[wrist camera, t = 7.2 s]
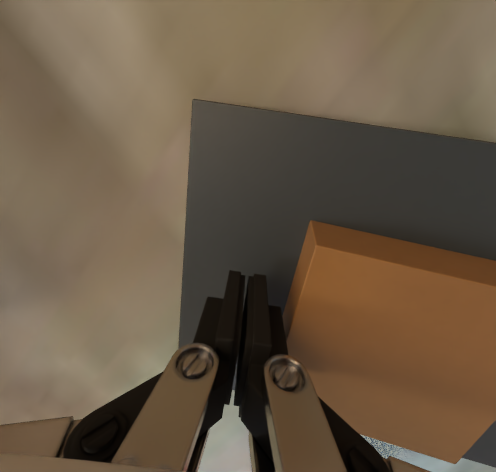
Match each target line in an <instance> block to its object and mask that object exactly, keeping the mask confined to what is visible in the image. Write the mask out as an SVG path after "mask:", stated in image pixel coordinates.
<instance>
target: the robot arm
mask: <svg viewBox="0 0 496 472" xmlns="http://www.w3.org/2000/svg"><path fill="white" fill-rule="evenodd" d="M244 289H245V275H241V272H240V271H233V270H229V275H228V280H227V285H226V290H225V294H224V299H223V298H216V297H207V299H206V302H205V306H204V309H203V312H202V315H201V318H200V321H199V325H198V328H197V331H196V334H195V337H194V340H193V343H190V344H187V345H185V346H183V347H181V348H180V349H178V350H177V351H176V352H175V354H174V355H173V356H172V358H171V360H170V361H169V363H168V365H167V367H166V368H165V370H164V372H162V373H160V374H158V375H157V376H155V377H153V378H151V379H149V380H148V381H146V382H144V383H142V384H141V385H139V386H137V387H135V388H134V389H132V390H130V391H128V392H127V393H125V394H123V395H121V396H120V397H118V398H116V399H114V400H113V401H111V402H109V403H107V404H106V405H104V406H102V407H100V408H99V409H97V410H95V411H93V412H92V413H90V414H89V415H88V416H86V417H85V418H83V419H80V420H74V419H73V416H71V417H62V418H54V419H46V420H38V421H29V422H21V423H13V424H5V425H0V472H198V469H199V465H200V462H201V458H202V455H203V452H204V448H205V445H206V442H207V438H208V435H209V429H210V427H212V426H213V425H214V424H215V423H216V422H217V421H219V420H220V419H221V418H222V414H223V408H224V404H227V405H229V404H230V398H231V392H232V387H233V381H234V375H235V370H236V364H237V373H236V385H235V397H234V405H235V406H239V417H241V421H242V422H243V423H244V425H245V426H246V427H247V429H248V430H249V447H250V457H251V467H252V472H430V471H427V470H425V469H422V468H420V467H417V466H415V465H412V464H409V463H407V462H404V461H402V460H399V459H397V458H394V457H391V456H389V457H388V459H385V458H383V457H382V456H381V455H380V454H379V453H378V452H377V451H376V450H375V448H374V447H373V446H372V445H370V444H369V443H368V442H367V441H366V440H365V439H364V438H363V437H362V436H361V435H360V434H359V433H357V432H356V431H355V430H354V429H353V428H352V427H351V426H350V425H349V424H348V423H347V422H346V421H344V420H343V419H342V418H341V417H340V416H339V415H338V414H337V413H336V412H335V411H334V410H333V409H331V408H330V407H329V406H328V405H327V404H326V403H325V402H324V401H323V400H322V399H321V398H319V397H318V396H317V393H316V390H315V388H314V385H313V383H312V380H311V377H310V375H309V373H308V371H307V369H306V367H305V366H304V365H303V364H302V363H301V362H300V361H299V360H297V359H296V358H294V357H292V356H289V355H288V349H287V343H286V336H285V330H284V324H283V317H282V311H281V307H280V306H273V305H268V293H267V280H266V275H261V274H254V276H253V277H252V276H249V279H248V285H247V290H246V296H245V302H244ZM243 302H244V308H243ZM237 358H238V361H237Z"/></svg>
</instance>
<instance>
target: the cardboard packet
mask: <svg viewBox="0 0 496 472" xmlns="http://www.w3.org/2000/svg"><path fill="white" fill-rule="evenodd" d="M282 317H283V324H284V330H285V336H286V343H287V349H288V355H289V356H292V357H294V358H296V359H297V360H299V361H300V362H301V363H302V364H303V365H304V366H305V367H306V369H307V371H308V373H309V375H310V377H311V380H312V383H313V385H314V388H315V390H316V393H317V396H318V397H319V398H321V399H322V400H323V401H324V402H325V403H326V404H327V405H328V406H329V407H330V408H331V409H333V410H334V411H335V412H336V413H337V414H338V415H339V416H340V417H341V418H342V419H343V420H344V421H346V422H347V423H348V424H349V425H350V426H351V427H352V428H353V429H354V430H355V431H356V432H357V433H359V434H361V435H365V436H368V437H371V438H374V439H377V440H380V441H384V442H387V443H390V444H393V445H396V446H399V447H403V448H406V449H409V450H412V451H415V452H418V453H422V454H425V455H428V456H431V457H434V458H437V459H441V460H444V461H447V462H450V463H453V464H456V463H457V462H458V461H459V460H460V459H461V458H462V457H463V455H464V454H465V453H466V452H467V451H468V450H469V449H470V448H471V447H472V446H473V444H474V443H475V442H476V441H477V440H478V439H479V438H480V437H481V436H482V435H483V433H484V432H485V431H486V430H487V429H488V428H489V427H490V426H491V425H492V424H493V422H494V421H495V420H496V261H494V260H489V259H485V258H480V257H476V256H471V255H467V254H462V253H458V252H453V251H449V250H444V249H440V248H435V247H430V246H426V245H421V244H417V243H412V242H408V241H403V240H399V239H394V238H390V237H385V236H381V235H376V234H371V233H367V232H362V231H358V230H353V229H349V228H344V227H340V226H335V225H331V224H326V223H321V222H317V221H312V220H311V221H310V223H309V226H308V230H307V233H306V236H305V240H304V243H303V247H302V250H301V254H300V257H299V261H298V264H297V268H296V271H295V275H294V278H293V282H292V285H291V288H290V292H289V295H288V299H287V302H286V306H285V309H284V313H283V316H282Z"/></svg>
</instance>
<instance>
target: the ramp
mask: <svg viewBox="0 0 496 472" xmlns="http://www.w3.org/2000/svg"><path fill="white" fill-rule="evenodd" d="M311 220H312V221H317V222H321V223H326V224H331V225H335V226H340V227H344V228H349V229H353V230H358V231H362V232H367V233H371V234H376V235H381V236H385V237H390V238H394V239H399V240H403V241H408V242H412V243H417V244H421V245H426V246H430V247H435V248H440V249H444V250H449V251H453V252H458V253H462V254H467V255H471V256H476V257H480V258H485V259H489V260H494V261H496V143H492V142H485V141H478V140H472V139H465V138H458V137H451V136H444V135H437V134H430V133H424V132H417V131H410V130H403V129H396V128H389V127H382V126H376V125H369V124H362V123H355V122H348V121H341V120H334V119H328V118H321V117H314V116H307V115H300V114H293V113H286V112H280V111H273V110H266V109H259V108H252V107H245V106H238V105H232V104H225V103H218V102H211V101H204V100H197V99H193V101H192V118H191V136H190V153H189V171H188V189H187V207H186V224H185V242H184V260H183V277H182V295H181V313H180V330H179V348H178V349H180V348H181V347H183V346H185V345H187V344H190V343H193V340H194V337H195V334H196V331H197V328H198V325H199V321H200V318H201V315H202V312H203V309H204V306H205V302H206V299H207V297H216V298H223V299H224V294H225V290H226V285H227V280H228V275H229V270H233V271H240V272H241V275H245V289H244V302H245V296H246V290H247V285H248V279H249V276H252V277H253V276H254V274H261V275H266V280H267V293H268V305H273V306H280V307H281V311H282V316H283V313H284V309H285V306H286V302H287V299H288V295H289V292H290V288H291V285H292V282H293V278H294V275H295V271H296V268H297V264H298V261H299V257H300V254H301V250H302V247H303V243H304V240H305V236H306V233H307V230H308V226H309V223H310V221H311ZM244 302H243V308H244ZM237 361H238V358H237ZM236 373H237V364H236V370H235V375H234V381H233V387H232V390H235V385H236ZM462 458H465V459H469V460H472V461H475V462H479V463H482V464H485V465H489V466H492V467H496V420H495V421H494V422H493V424H492V425H491V426H490V427H489V428H488V429H487V430H486V431H485V432H484V433H483V435H482V436H481V437H480V438H479V439H478V440H477V441H476V442H475V443H474V444H473V446H472V447H471V448H470V449H469V450H468V451H467V452H466V453H465V454H464V455H463V457H462Z"/></svg>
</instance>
